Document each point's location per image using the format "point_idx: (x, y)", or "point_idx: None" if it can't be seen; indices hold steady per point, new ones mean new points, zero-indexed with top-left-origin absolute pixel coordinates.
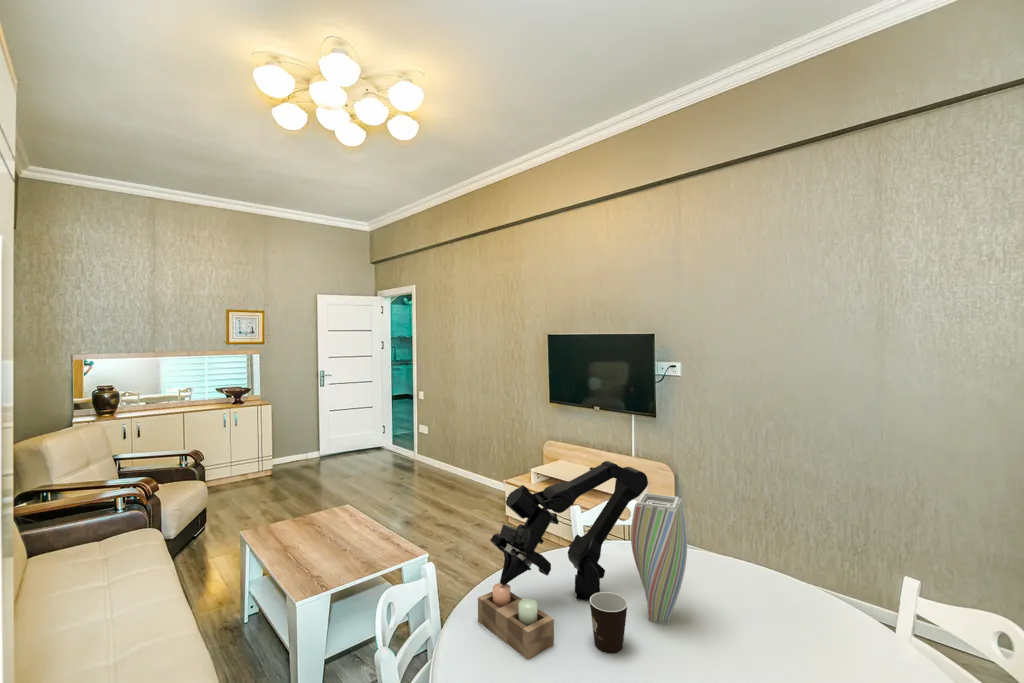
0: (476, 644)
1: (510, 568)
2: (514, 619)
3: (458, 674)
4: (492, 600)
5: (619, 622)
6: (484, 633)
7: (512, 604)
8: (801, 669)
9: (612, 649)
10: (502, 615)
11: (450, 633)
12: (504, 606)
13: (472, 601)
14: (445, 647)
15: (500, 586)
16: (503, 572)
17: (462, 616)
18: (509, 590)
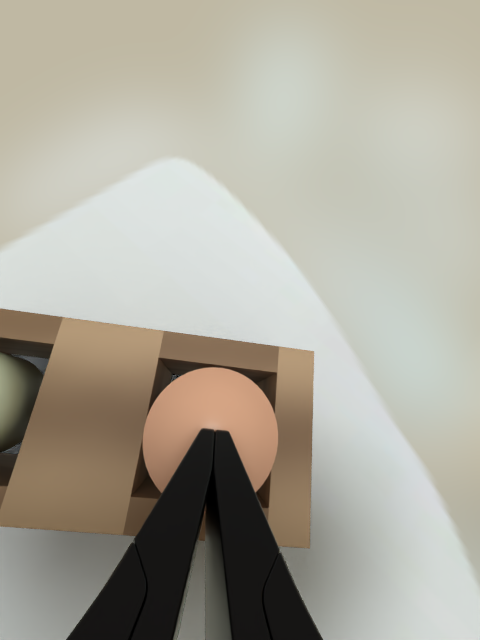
0: (189, 279)
1: (129, 594)
2: (19, 329)
3: (136, 172)
4: None
5: None
6: (212, 335)
7: (120, 434)
8: None
9: None
10: (106, 324)
11: (290, 267)
12: (145, 384)
13: (402, 449)
14: (247, 219)
15: None
16: (237, 504)
17: (341, 352)
18: (146, 458)
